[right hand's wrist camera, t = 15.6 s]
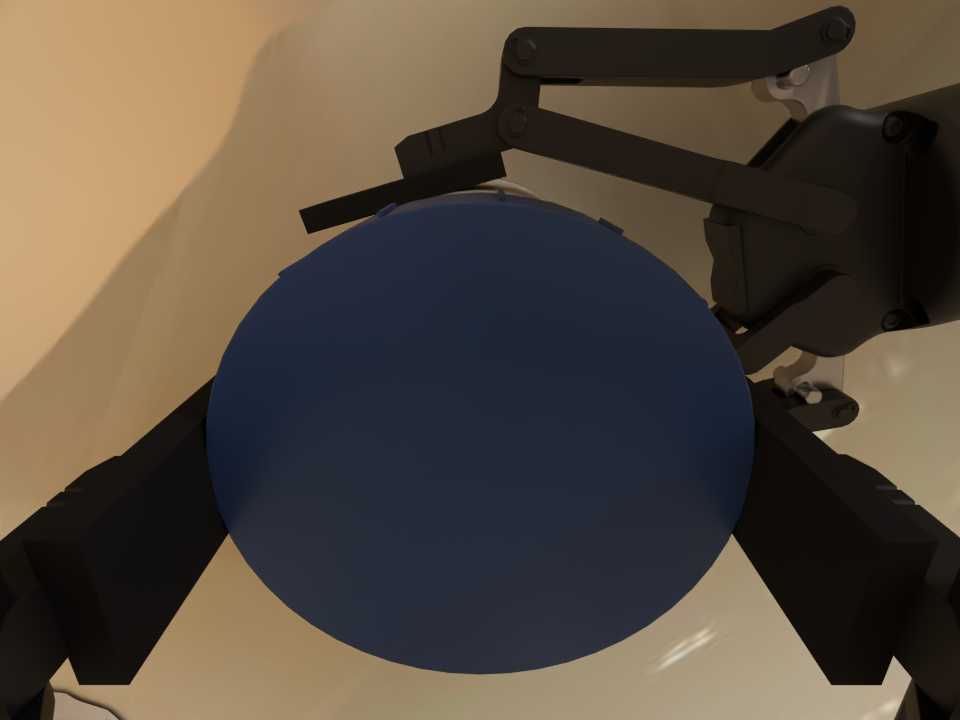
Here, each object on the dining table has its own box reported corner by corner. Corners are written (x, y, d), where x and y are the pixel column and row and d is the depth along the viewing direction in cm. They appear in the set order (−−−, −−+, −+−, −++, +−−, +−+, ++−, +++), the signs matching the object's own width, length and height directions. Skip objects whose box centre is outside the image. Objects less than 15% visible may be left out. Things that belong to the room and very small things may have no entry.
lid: (170, 464, 13) (113, 522, 11) (428, 68, 10) (414, 47, 8) (513, 659, 15) (518, 735, 13) (808, 393, 12) (873, 442, 10)
